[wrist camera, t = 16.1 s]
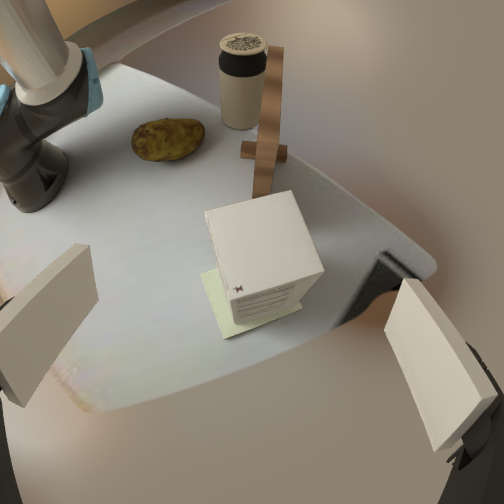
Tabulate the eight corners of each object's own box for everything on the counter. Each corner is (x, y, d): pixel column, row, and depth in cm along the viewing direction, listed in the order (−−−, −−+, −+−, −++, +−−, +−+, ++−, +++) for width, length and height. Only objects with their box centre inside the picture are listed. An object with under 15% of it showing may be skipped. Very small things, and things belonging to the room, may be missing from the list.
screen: (242, 144, 53) (245, 43, 32) (285, 149, 53) (306, 50, 32) (229, 233, 47) (224, 137, 26) (281, 238, 47) (311, 147, 26)
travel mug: (269, 123, 55) (278, 48, 38) (232, 135, 54) (231, 58, 37) (249, 100, 57) (253, 28, 41) (215, 111, 56) (210, 37, 39)
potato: (210, 162, 51) (206, 132, 44) (139, 176, 50) (126, 149, 42) (204, 129, 54) (200, 99, 47) (139, 143, 53) (128, 115, 45)
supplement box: (296, 307, 42) (329, 275, 27) (233, 326, 41) (230, 305, 25) (274, 246, 45) (292, 186, 30) (215, 263, 44) (202, 208, 28)
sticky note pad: (200, 275, 44) (200, 274, 43) (275, 248, 46) (276, 246, 45) (224, 339, 41) (223, 338, 40) (301, 308, 43) (303, 307, 42)
